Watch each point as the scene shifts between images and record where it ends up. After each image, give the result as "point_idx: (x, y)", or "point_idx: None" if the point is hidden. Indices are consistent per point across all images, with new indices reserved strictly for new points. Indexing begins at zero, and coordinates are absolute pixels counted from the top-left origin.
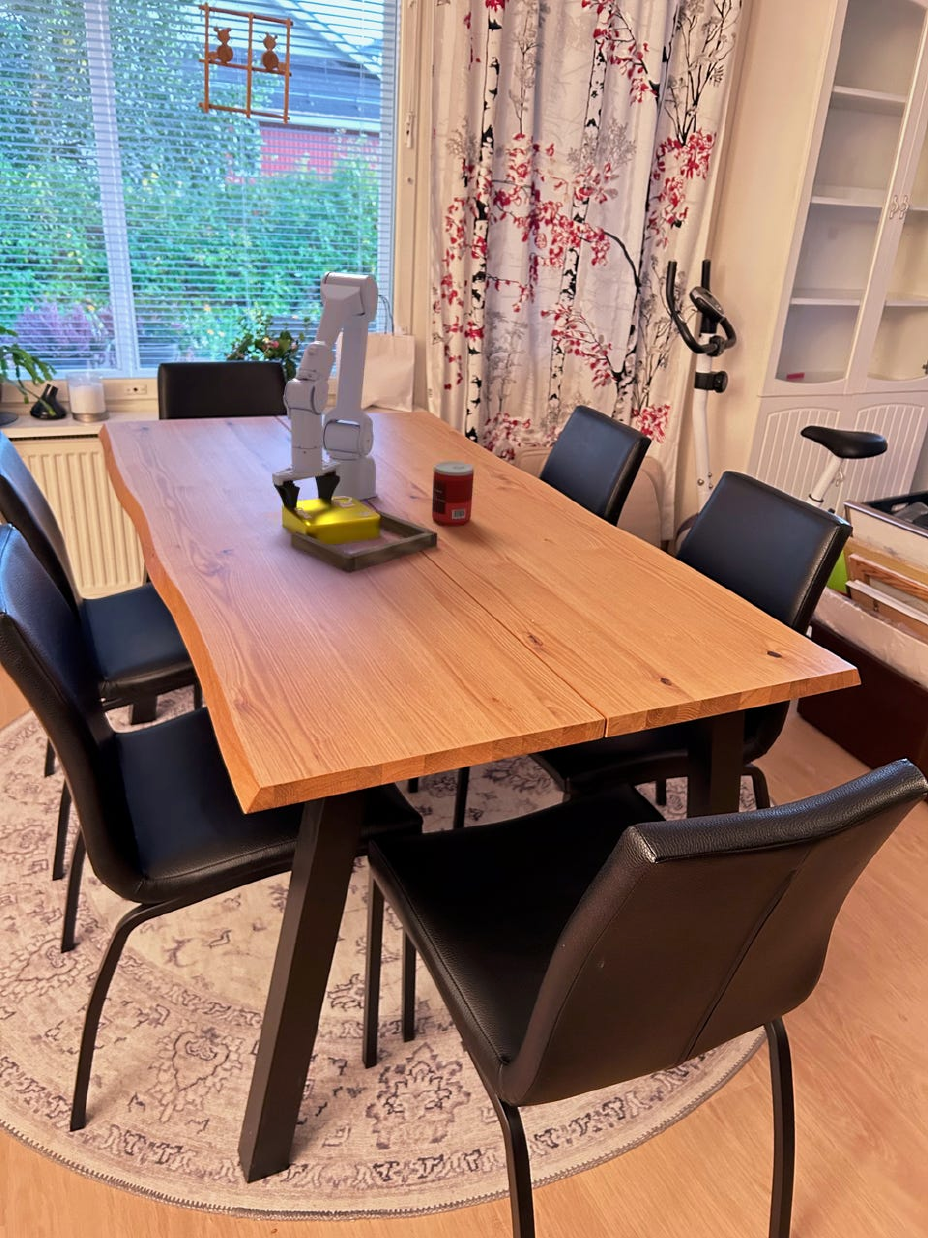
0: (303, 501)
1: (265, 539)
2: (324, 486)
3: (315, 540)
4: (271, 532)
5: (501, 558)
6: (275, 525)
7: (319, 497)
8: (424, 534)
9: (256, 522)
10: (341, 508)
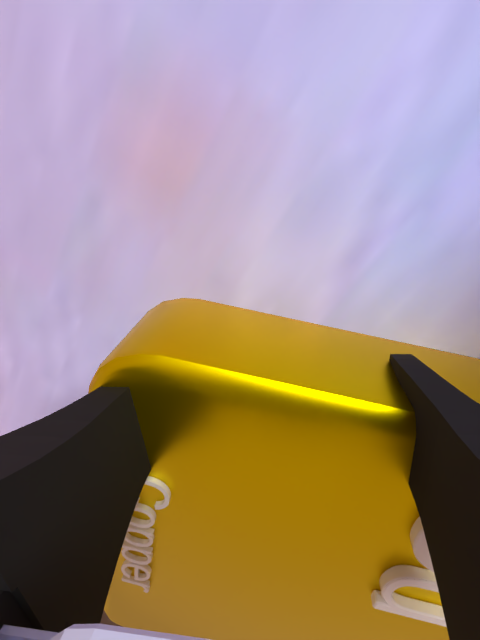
0: (249, 413)
1: (19, 414)
2: (454, 556)
3: (108, 618)
4: (62, 372)
5: None
6: (108, 311)
7: (420, 404)
8: None
9: (32, 217)
10: (360, 592)
